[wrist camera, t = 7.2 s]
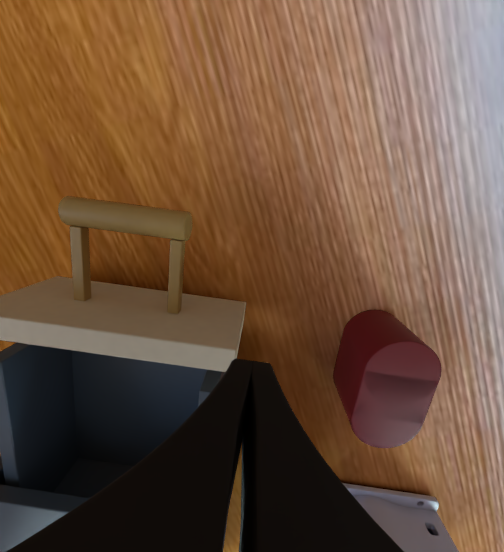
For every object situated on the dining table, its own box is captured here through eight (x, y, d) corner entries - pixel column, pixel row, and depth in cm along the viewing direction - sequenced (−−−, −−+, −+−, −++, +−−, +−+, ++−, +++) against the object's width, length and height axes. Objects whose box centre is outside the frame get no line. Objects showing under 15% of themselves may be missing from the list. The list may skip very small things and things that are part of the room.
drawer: (50, 190, 16) (-70, 182, 10) (257, 217, 15) (252, 225, 10) (70, 449, 21) (-1, 539, 15) (224, 472, 21) (209, 571, 15)
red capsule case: (409, 313, 17) (452, 346, 13) (381, 401, 19) (412, 453, 15) (349, 305, 18) (374, 336, 13) (327, 393, 19) (344, 443, 15)
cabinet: (67, 391, 21) (-43, 495, 13) (239, 416, 20) (224, 536, 13) (77, 530, 25) (-2, 668, 17) (220, 552, 25) (201, 700, 17)
